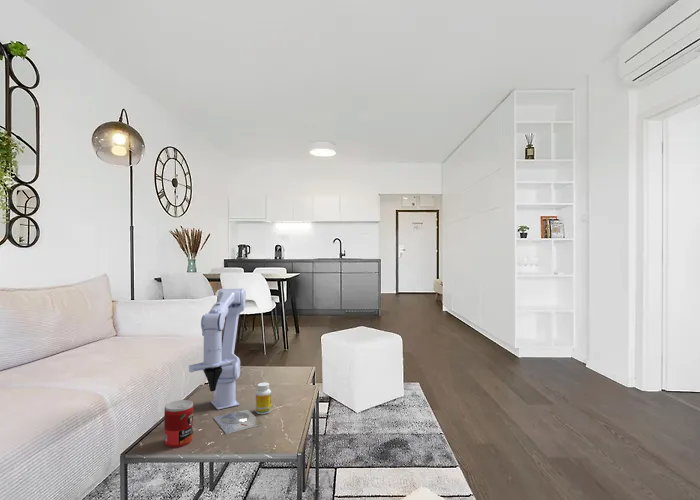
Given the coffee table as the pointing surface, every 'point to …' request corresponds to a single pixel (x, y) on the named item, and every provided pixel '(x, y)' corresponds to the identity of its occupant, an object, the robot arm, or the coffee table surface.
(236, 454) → the coffee table surface
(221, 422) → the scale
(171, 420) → the canned food
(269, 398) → the supplement bottle
